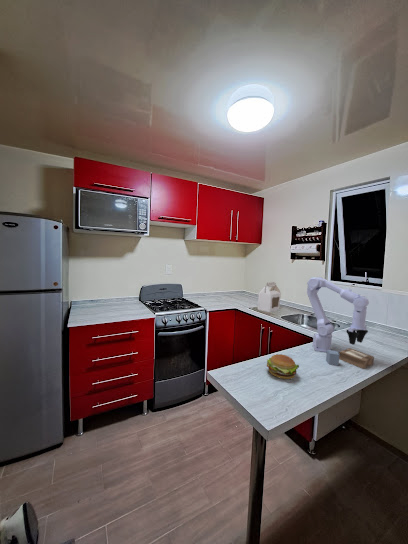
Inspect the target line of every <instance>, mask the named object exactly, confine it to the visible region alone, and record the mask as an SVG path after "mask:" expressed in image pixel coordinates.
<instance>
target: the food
mask: <svg viewBox="0 0 408 544" xmlns="http://www.w3.org/2000/svg"><path fill="white" fill-rule="evenodd" d="M266 362H267V363H266V367H267V368H268V371H269V373H270V374H271V375H272V376H274V377H277V378H278V379H284V380H292V379H294V378H295V376H296V374H297V370H298V368H300V364H296V362H295V361H294V360H293V358H292V357H290V356H288V355H286V354H278V353H277V354H273V355H272V356H271V357H269V358H268V359H266Z"/></svg>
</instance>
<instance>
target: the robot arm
mask: <svg viewBox="0 0 408 544" xmlns="http://www.w3.org/2000/svg"><path fill="white" fill-rule="evenodd" d="M306 285H307V288H306V295H307V298H308V300H309V302H310V305H311V308H312V310H313V314H314V315H315V318H316V320H317V321H316V327H317V329H316V331H317V333H314V334H313V338H312V339H313V340H312V347H313V349H314V350H315V351H316V352H324V353H327V350H332V349H331V348H332V339H333V335H332V334H333V333H334V331H335V327H334V325H333V324H332V323H331V322H330V319H328V317H327V316H326V313H325V311H324V308H323V306H322V303H321V300H320V298H319V295H318V292H319V291H320V289H321V288H327V289H329V290H331V291H333V292H335V293H337V294H339V296H340V298H342V299H343V300H345V301H347V302H349V303H351V304H353V312H352V318H351V319H352V320H351V324H350V326H349V327H348V329H346V333H347V336H348V341H349V344H350V345H353V346H354V345H355V344H356V342H357V343H360V344H361V343H363V341H364V338H365V336H366V335H367V334H368V332H369V331H368V330H367V325H365V323H366V317H367V306H368V305H369V304H370V301H369V299H368V298H367V297H366V296H363V295H361V294H359V293H356V292H354V291H352V289H350V288H342V287H340V286H338V285H336V284H335V283H333V282H332V281H329V280H327V279H326V278H323V277H321V276H317V277H315V276H314V277H310V278H309V279H308V281H307V283H306Z"/></svg>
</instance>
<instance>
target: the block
mask: <svg viewBox="0 0 408 544" xmlns="http://www.w3.org/2000/svg"><path fill="white" fill-rule="evenodd" d="M325 362H326V363H327V364H328V365H329V366H330V365H331V366H336V367H339V363H340V359H339V353H338V351H337V350H332V349H331V350H327V352H326V359H325Z"/></svg>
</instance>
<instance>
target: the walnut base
mask: <svg viewBox="0 0 408 544" xmlns="http://www.w3.org/2000/svg"><path fill="white" fill-rule="evenodd" d="M338 354H339V361H340V360H341V361H343V362H345V363H348V364H349V365H352V366H355V367H358V368H359V369H362V370H364V369H366V368H368V367H370V366H372V365H374V359H375V356H373V355H370V354H367V353H365V352H362V351H360V350H357V349H354V348H352V347H349V348H346V349H343V350H341V351H339V353H338Z"/></svg>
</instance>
